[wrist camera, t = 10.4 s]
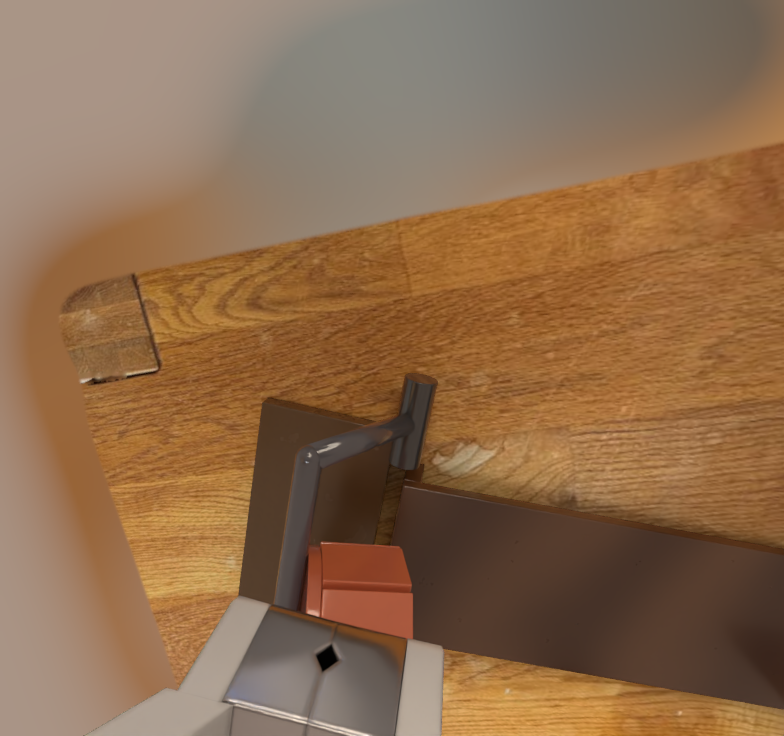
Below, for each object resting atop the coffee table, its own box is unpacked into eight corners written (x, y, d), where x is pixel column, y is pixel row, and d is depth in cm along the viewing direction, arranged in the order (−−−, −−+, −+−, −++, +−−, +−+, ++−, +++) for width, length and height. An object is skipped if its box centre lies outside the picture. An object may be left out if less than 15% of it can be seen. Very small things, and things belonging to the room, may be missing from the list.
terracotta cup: (251, 786, 22) (418, 782, 23) (302, 445, 18) (501, 465, 19) (268, 602, 32) (384, 607, 33) (303, 358, 28) (433, 375, 29)
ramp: (863, 563, 29) (911, 602, 26) (794, 702, 32) (830, 753, 29) (408, 460, 31) (402, 485, 28) (378, 599, 34) (370, 636, 31)
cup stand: (243, 591, 35) (159, 728, 25) (268, 397, 32) (181, 470, 22) (358, 620, 35) (318, 772, 25) (398, 425, 31) (368, 514, 21)
